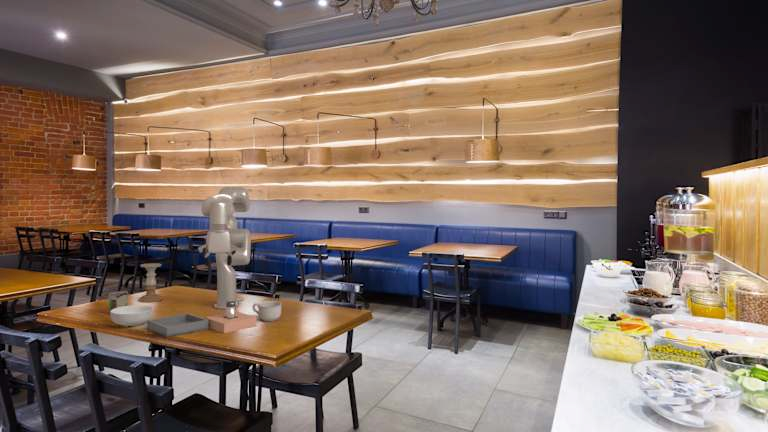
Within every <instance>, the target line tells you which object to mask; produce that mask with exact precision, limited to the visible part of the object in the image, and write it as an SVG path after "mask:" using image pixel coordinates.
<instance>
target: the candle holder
mask: <svg viewBox="0 0 768 432" xmlns="http://www.w3.org/2000/svg"><path fill="white" fill-rule="evenodd" d="M140 267H141V268H145V270H146V272H147V273H146V274H145V276H146V281H145V285H146V286H145V287H144V289H145V291H146V293H145V294H143V295H141V297H138V302H139V301H141V302H140V303H155V302H154V301H156V302H160V300H161V301H163V300H162V299H164V296H162V295H160V294H158V293H156V290H157V286H156V285H157V281H156V276H157V273H155V271H156V269H157V268H159V267H162V264H161V263H157V262H156V263H155V262H152V263H150V262H149V263H142V264H140Z"/></svg>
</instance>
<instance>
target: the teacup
mask: <svg viewBox="0 0 768 432" xmlns="http://www.w3.org/2000/svg"><path fill="white" fill-rule="evenodd" d="M256 307H257V308H258V309H256ZM251 308H252V310H253V312H255V313H256V314H257V315H258V317H259V319H260V320H262V321H263V322H275V321H277V320H278V319H279V318H280V317H281V315H282V302H280V301H278V300H266V301H262V302H260V303H258V302H255V303H253V305H252V307H251Z"/></svg>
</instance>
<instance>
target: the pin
mask: <svg viewBox="0 0 768 432" xmlns="http://www.w3.org/2000/svg"><path fill="white" fill-rule="evenodd" d="M236 308H237V307H236V301H227V302H226V309H225V313H226V319H233V318H235V313H236Z"/></svg>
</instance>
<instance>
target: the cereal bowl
mask: <svg viewBox="0 0 768 432" xmlns="http://www.w3.org/2000/svg"><path fill="white" fill-rule="evenodd" d="M109 315H110V321H112V322H113V323H114V324H117V325H118V326H119V325H120V326H121V327H123V328H129V327H128V326H134V327H138V326H137V325H139V326H141V325H142V324H144V323H147V320H151V319H152V317H153V315H154V307H153V306H149V305H142V304H140V305H137V304H136V305H135V304H134V305H127V306H124V307H118V308H115V309H112V310H111V311H110V310H109Z"/></svg>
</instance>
